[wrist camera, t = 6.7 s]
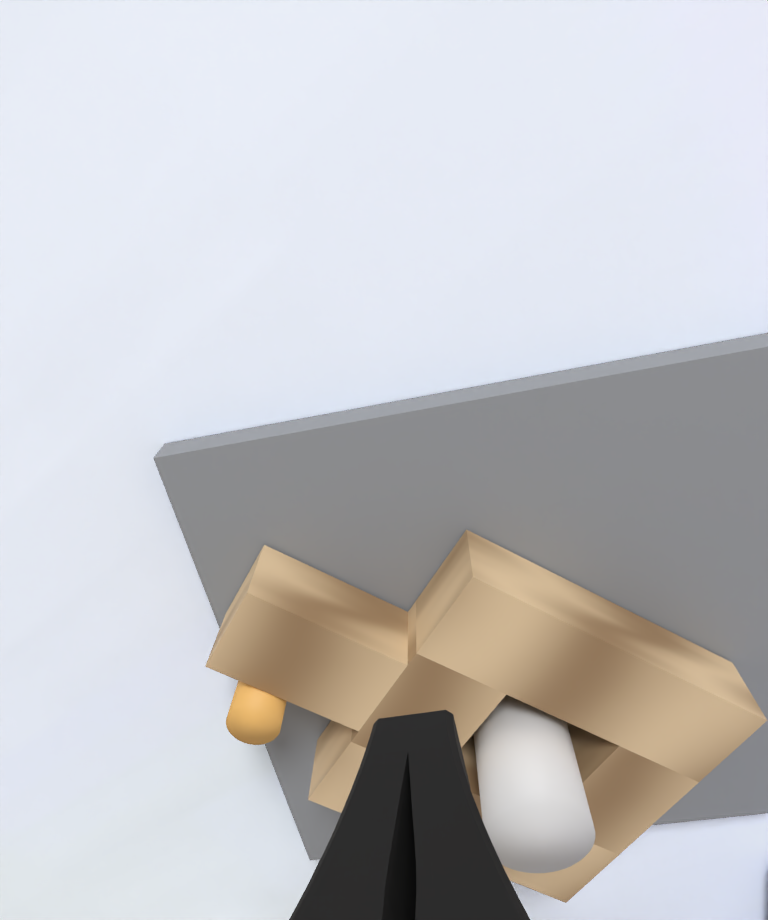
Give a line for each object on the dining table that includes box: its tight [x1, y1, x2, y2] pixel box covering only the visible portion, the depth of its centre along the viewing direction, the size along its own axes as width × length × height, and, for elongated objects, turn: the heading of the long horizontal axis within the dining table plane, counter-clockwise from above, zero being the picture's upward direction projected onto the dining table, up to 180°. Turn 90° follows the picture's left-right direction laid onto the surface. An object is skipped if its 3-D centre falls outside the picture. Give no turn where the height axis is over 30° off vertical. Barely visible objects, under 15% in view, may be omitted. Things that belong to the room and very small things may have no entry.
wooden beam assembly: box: [206, 530, 767, 903], centre depth 22 cm, size 15×10×2 cm, turn 61°
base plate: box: [154, 333, 768, 873], centre depth 21 cm, size 18×18×6 cm
